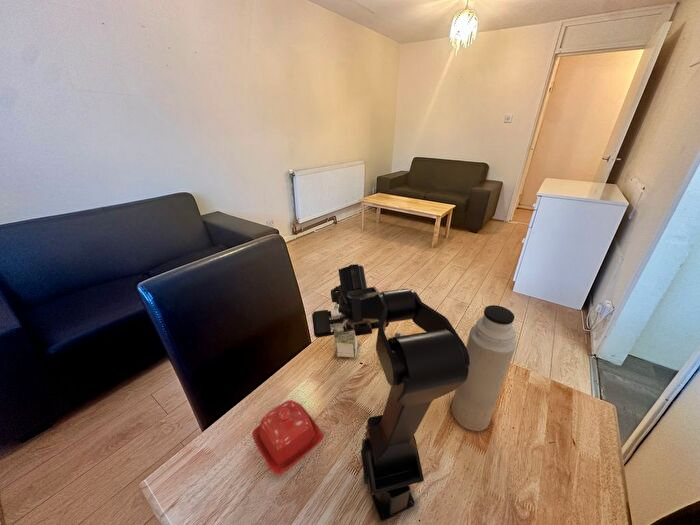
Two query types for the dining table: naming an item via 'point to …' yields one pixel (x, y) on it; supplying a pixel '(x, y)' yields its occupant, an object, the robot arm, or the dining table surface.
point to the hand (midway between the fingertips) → (346, 323)
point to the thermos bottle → (485, 367)
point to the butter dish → (286, 436)
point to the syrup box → (344, 339)
